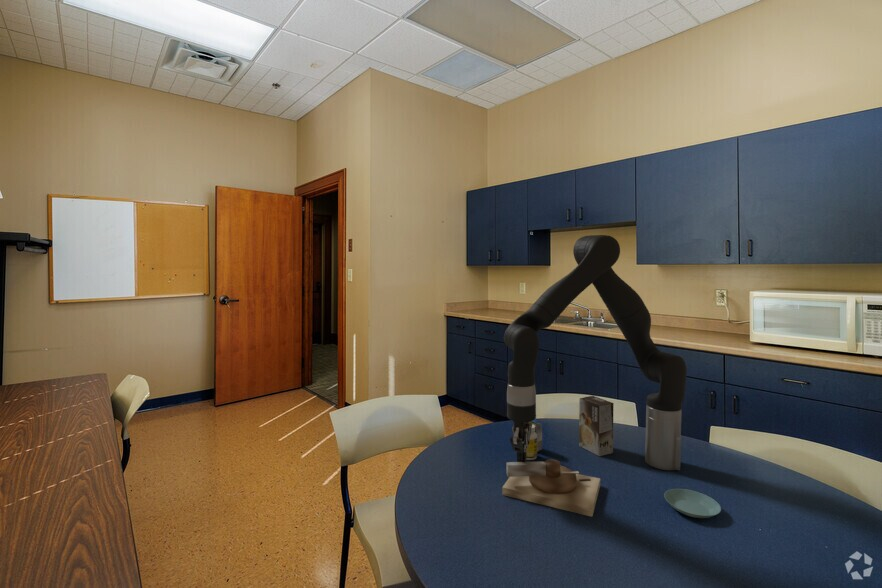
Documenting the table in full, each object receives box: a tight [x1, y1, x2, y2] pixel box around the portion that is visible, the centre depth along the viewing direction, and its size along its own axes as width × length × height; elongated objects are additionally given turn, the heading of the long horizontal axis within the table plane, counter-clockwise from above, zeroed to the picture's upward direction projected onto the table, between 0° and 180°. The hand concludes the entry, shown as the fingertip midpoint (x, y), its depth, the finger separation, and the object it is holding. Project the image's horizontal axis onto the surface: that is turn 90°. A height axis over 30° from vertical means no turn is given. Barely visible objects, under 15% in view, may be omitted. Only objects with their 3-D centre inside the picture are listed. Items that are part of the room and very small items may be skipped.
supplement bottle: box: [526, 424, 538, 461], centre depth 132 cm, size 5×5×10 cm
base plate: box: [501, 473, 601, 518], centre depth 112 cm, size 22×16×2 cm
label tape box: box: [529, 417, 543, 453], centre depth 139 cm, size 9×4×12 cm, turn 43°
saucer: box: [663, 488, 722, 519], centre depth 103 cm, size 12×12×2 cm
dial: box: [505, 458, 580, 493], centre depth 112 cm, size 19×12×5 cm, turn 93°
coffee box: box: [578, 395, 615, 457], centre depth 137 cm, size 9×6×16 cm
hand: (521, 463), depth 114 cm, fingers closed
